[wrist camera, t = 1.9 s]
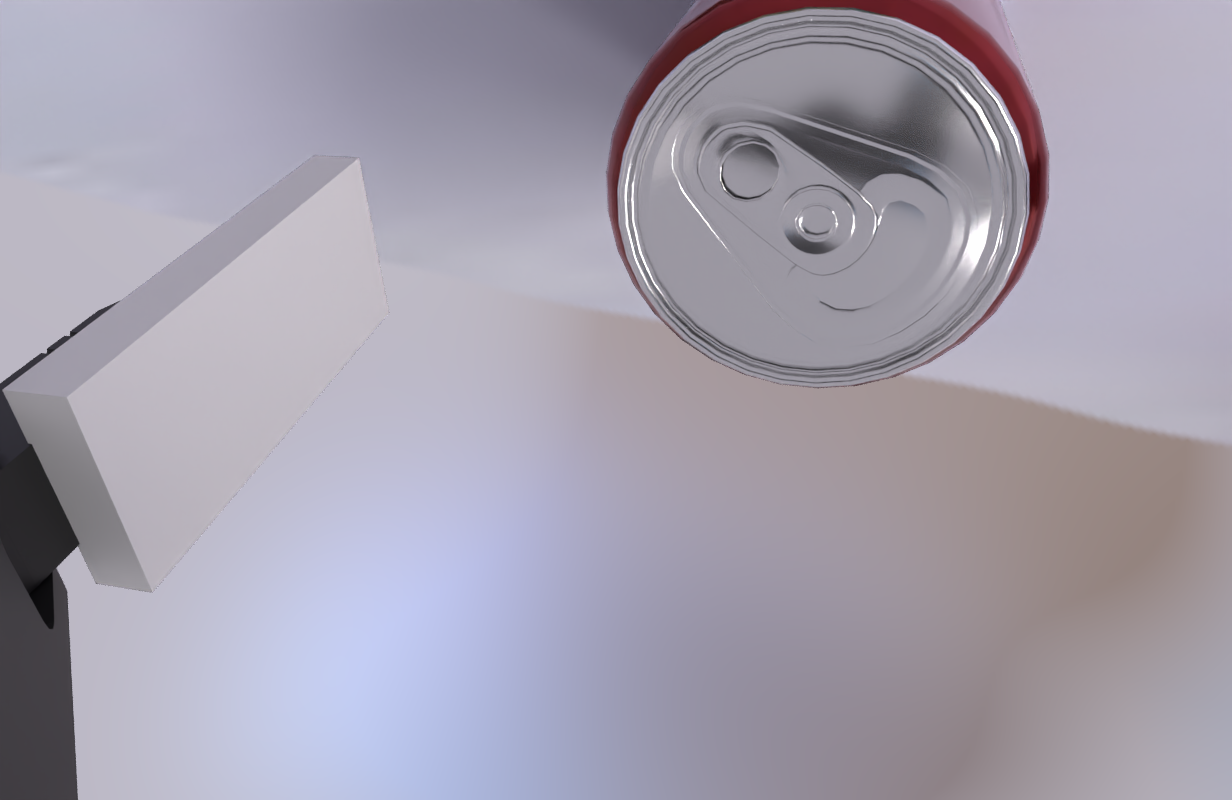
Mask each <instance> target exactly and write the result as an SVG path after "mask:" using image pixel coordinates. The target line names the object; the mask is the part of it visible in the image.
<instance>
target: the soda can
mask: <svg viewBox="0 0 1232 800" xmlns="http://www.w3.org/2000/svg"><path fill="white" fill-rule="evenodd" d="M606 178H607V201H608V213H609V217H610V221H611V225H612V229H613V233H614V237H615V242H616V246H617V249H618V252H619V254H620V256H621V258H622V261H623V263H624V265H625V267H626V269H627V271H628V273H629V276H630V278H631V280H632V282H633V284H634V286H635V287H636V288H637V290H638V291H639V293H640V294H641V295H642V297H643V298H644V300H645V301H646V302H647V304H648V305H649V307H650V308H651V309H652V311H653V312H654V314H655V315H656V316H658V317H659V318H660V319H661V320H662V321H663V322H664V323H665V324H666V325H667V326H668V327H669V328H670V329H671V330H672V331H673V332H674V333H675V334H676V335H677V336H678V337H679V338H680V339H682V340H683V341H685V342H686V343H687V344H689V345H691V346H692V347H693V348H695V349H696V350H698V351H699V352H701V353H702V354H704V355H705V356H707V357H708V358H710V359H711V360H713V361H716V362H718V363H720V364H722V365H724V366H727V367H729V368H731V369H733V370H735V371H738V372H740V373H742V374H744V375H748V376H751V377H755V378H759V379H763V380H767V381H770V382H774V383H777V384H783V385H793V386H803V387H813V388H825V387H826V388H827V387H844V386H857V385H862V384H866V383H871V382H875V381H879V380H884V379H888V378H893V377H896V376H898V375H900V374H903V373H905V372H908V371H910V370H913V369H915V368H918V367H920V366H922V365H925V364H927V363H930V362H932V361H933V360H935V359H936V358H938V357H939V356H941V355H943V354H944V353H946V352H947V351H949V350H951V349H952V348H954V347H955V346H957V345H959V344H960V343H962V342H963V341H965V340H966V339H967V338H968V337H969V336H970V335H971V334H972V333H973V332H974V331H976V330H977V329H978V328H979V327H980V326H981V325H982V324H983V323H984V322H985V321H986V320H988V319H989V318H990V317H991V316H992V315H993V314H994V313H995V312H996V311H997V309H998V308H999V307H1000V305H1001V304H1002V302H1003V301H1004V300H1005V298H1006V297H1007V296H1008V294H1009V293H1010V292H1011V290H1012V289H1013V288H1014V286H1015V285H1016V284H1017V282H1018V281H1019V280H1020V278H1021V277H1022V275H1023V273H1024V270H1025V268H1026V266H1027V264H1028V262H1029V260H1030V258H1031V256H1032V253H1033V251H1034V249H1035V247H1036V245H1037V243H1038V241H1039V238H1040V234H1041V229H1042V225H1043V221H1044V216H1045V212H1046V208H1047V203H1048V199H1049V152H1048V147H1047V143H1046V139H1045V134H1044V130H1043V125H1042V121H1041V116H1040V112H1039V109H1038V106H1037V103H1036V100H1035V98H1034V95H1033V92H1032V89H1031V86H1030V84H1029V81H1028V78H1027V75H1026V72H1025V69H1024V67H1023V64H1022V61H1021V58H1020V55H1019V53H1018V50H1017V47H1016V44H1015V41H1014V38H1013V36H1012V33H1011V30H1010V27H1009V24H1008V21H1007V19H1006V16H1005V13H1004V10H1003V7H1002V5H1001V2H1000V0H695V2H694V3H693V4H692V6H691V7H690V8H689V9H688V11H687V12H686V13H685V15H684V16H683V17H682V18H681V20H680V21H679V22H678V24H677V25H676V26H675V27H674V29H673V30H672V31H671V33H670V34H669V35H668V37H667V38H666V39H665V40H664V42H663V43H662V44H661V46H660V47H659V48H658V49H657V51H656V52H655V53H654V55H653V56H652V57H651V58H650V60H649V61H648V63H647V65H646V66H645V68H644V69H643V71H642V72H641V74H640V76H639V77H638V79H637V80H636V82H635V83H634V85H633V87H632V88H631V90H630V91H629V93H628V94H627V97H626V99H625V102H624V104H623V107H622V110H621V112H620V115H619V118H618V120H617V123H616V126H615V128H614V131H613V134H612V140H611V146H610V152H609V159H608V165H607V171H606Z"/></svg>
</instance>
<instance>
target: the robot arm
mask: <svg viewBox="0 0 1232 800" xmlns="http://www.w3.org/2000/svg"><path fill="white" fill-rule="evenodd" d="M388 314H389V308H388V303H387V298H386V293H385V288H384V283H383V277H382V272H381V267H380V262H379V257H378V252H377V247H376V242H375V236H374V231H373V226H372V221H371V216H370V211H369V206H368V201H367V196H366V190H365V185H364V180H363V175H362V170H361V165H360V160H359V158H357V157H337V156H318V155H314V156H313V157H311V158H310V159H309V160H307V161H306V162H305V163H303V164H302V165H301V166H299V167H298V168H297V169H295V170H294V171H293V172H291V173H290V174H289V175H287V176H286V177H285V178H283V179H282V180H281V181H279V182H278V183H277V184H275V185H274V186H273V187H271V188H270V189H269V190H267V191H266V192H265V193H263V194H262V195H261V196H259V197H258V198H257V199H255V200H254V201H253V202H251V203H250V204H249V205H247V206H246V207H245V208H243V209H242V210H241V211H239V212H238V213H237V214H235V215H234V216H233V217H231V218H230V219H229V220H227V221H226V222H225V223H223V224H222V225H221V226H219V227H218V228H217V229H215V230H214V231H213V232H211V233H210V234H209V235H208V236H206V237H205V238H203V239H202V240H201V241H200V242H198V243H197V244H196V245H194V246H193V247H192V248H190V249H189V250H188V251H186V252H185V253H184V254H182V255H181V256H180V257H178V258H177V259H176V260H174V261H173V262H172V263H170V264H169V265H168V266H166V267H165V268H164V269H162V270H161V271H160V272H158V273H157V274H156V275H154V276H153V277H152V278H150V279H149V280H148V281H146V282H145V283H144V284H142V285H141V286H140V287H138V288H137V289H136V290H134V291H133V292H132V293H131V294H129V295H128V296H126V297H125V298H124V299H122V300H121V301H118V302H116V303H114V304H112V305H110V306H107V307H105V308H103V309H101V310H99V311H97V312H96V313H95V314H93V315H92V316H91V317H89V318H88V319H86V320H85V321H84V322H82V323H81V324H80V325H78V326H77V327H76V328H75V329H73V330H72V331H70V336H64V337H62V338H61V339H60V340H58V341H57V342H56V343H54V344H53V345H51V346H50V347H49V348H48V349H47V353H46V354H44V353H41V354H39V355H38V356H37V357H35V358H34V359H33V360H31V361H30V362H29V363H27V364H26V365H25V366H23V367H22V368H21V369H19V370H18V371H16V372H15V373H14V374H12V375H11V376H10V377H8V378H7V379H6V380H4V381H3V382H2V383H0V800H78V794H77V775H76V755H75V735H74V716H73V696H72V678H71V657H70V638H69V617H68V598H67V590H66V588H65V585H64V583H63V581H62V579H61V577H60V575H59V573H58V571H57V569H56V567H57V566H58V565H59V564H60V563H61V562H62V561H63V560H64V559H65V558H66V557H67V556H68V555H69V554H70V553H71V552H72V551H73V550H74V549H75V548H76V547H77V546H78V547H79V549H80V552H81V553H82V556H83V558H84V560H85V562H86V564H87V566H88V568H89V570H90V572H91V574H92V576H93V578H94V580H95V582H96V584H102V585H108V586H115V587H121V588H127V589H133V590H139V591H145V592H152V593H153V592H154V591H155V589H156V588H157V587H158V586H159V585H160V584H161V582H162V581H163V580H164V579H165V578H166V576H167V575H168V574H169V573H170V572H171V571H172V569H173V568H174V567H175V566H176V564H177V563H178V562H179V561H180V560H181V559H182V557H183V556H184V555H185V554H186V553H187V552H188V550H189V549H190V548H191V547H192V546H193V545H194V543H195V542H196V541H197V540H198V539H199V537H200V536H201V535H202V534H203V533H204V532H205V530H206V529H207V528H208V527H209V526H210V525H211V523H212V522H213V521H214V520H215V518H216V517H217V516H218V515H219V514H220V513H221V511H222V510H223V509H224V508H225V507H226V505H227V504H228V503H229V502H230V501H231V500H232V498H233V497H234V496H235V495H236V494H237V493H238V491H239V490H240V489H241V488H242V487H243V485H244V484H245V483H246V482H247V481H248V480H249V478H250V477H251V476H252V475H253V474H254V473H255V471H256V470H257V469H258V468H259V467H260V465H261V464H262V463H263V462H264V461H265V460H266V458H267V457H268V456H269V455H270V454H271V452H272V451H273V450H274V449H275V447H277V445H278V444H279V443H280V442H281V441H282V439H283V438H284V437H285V436H286V435H287V434H288V432H289V431H290V430H291V429H292V428H293V426H294V425H295V424H296V423H297V422H298V420H299V419H300V418H301V417H302V415H304V413H305V412H306V411H307V410H308V409H309V408H310V406H311V405H312V404H313V403H314V402H315V400H316V399H317V398H318V397H319V396H320V394H321V393H322V392H323V391H324V390H325V389H326V387H327V386H328V385H329V384H330V383H331V382H332V380H333V379H334V378H335V377H336V376H337V375H338V373H339V372H340V371H341V370H342V369H343V367H344V366H345V365H346V364H347V363H348V362H349V360H350V359H351V358H352V357H353V355H354V354H355V353H356V352H357V351H358V350H359V349H360V347H361V346H362V345H363V344H364V342H365V341H366V340H367V339H368V338H369V336H370V335H371V334H372V333H373V332H374V331H375V330H376V328H377V327H378V326H379V325H380V324H381V323H382V321H383V320H384V319H385V318H386V317H387V315H388Z"/></svg>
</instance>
